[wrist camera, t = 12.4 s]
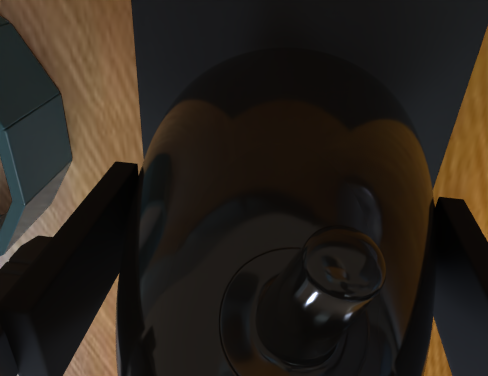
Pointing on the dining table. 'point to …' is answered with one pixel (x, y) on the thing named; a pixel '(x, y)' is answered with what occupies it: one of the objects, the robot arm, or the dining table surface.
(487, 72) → the dining table surface
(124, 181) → the robot arm
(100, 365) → the dining table surface
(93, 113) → the dining table surface
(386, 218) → the dark glossy rounded piece
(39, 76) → the teal ring
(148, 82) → the rubber mat
